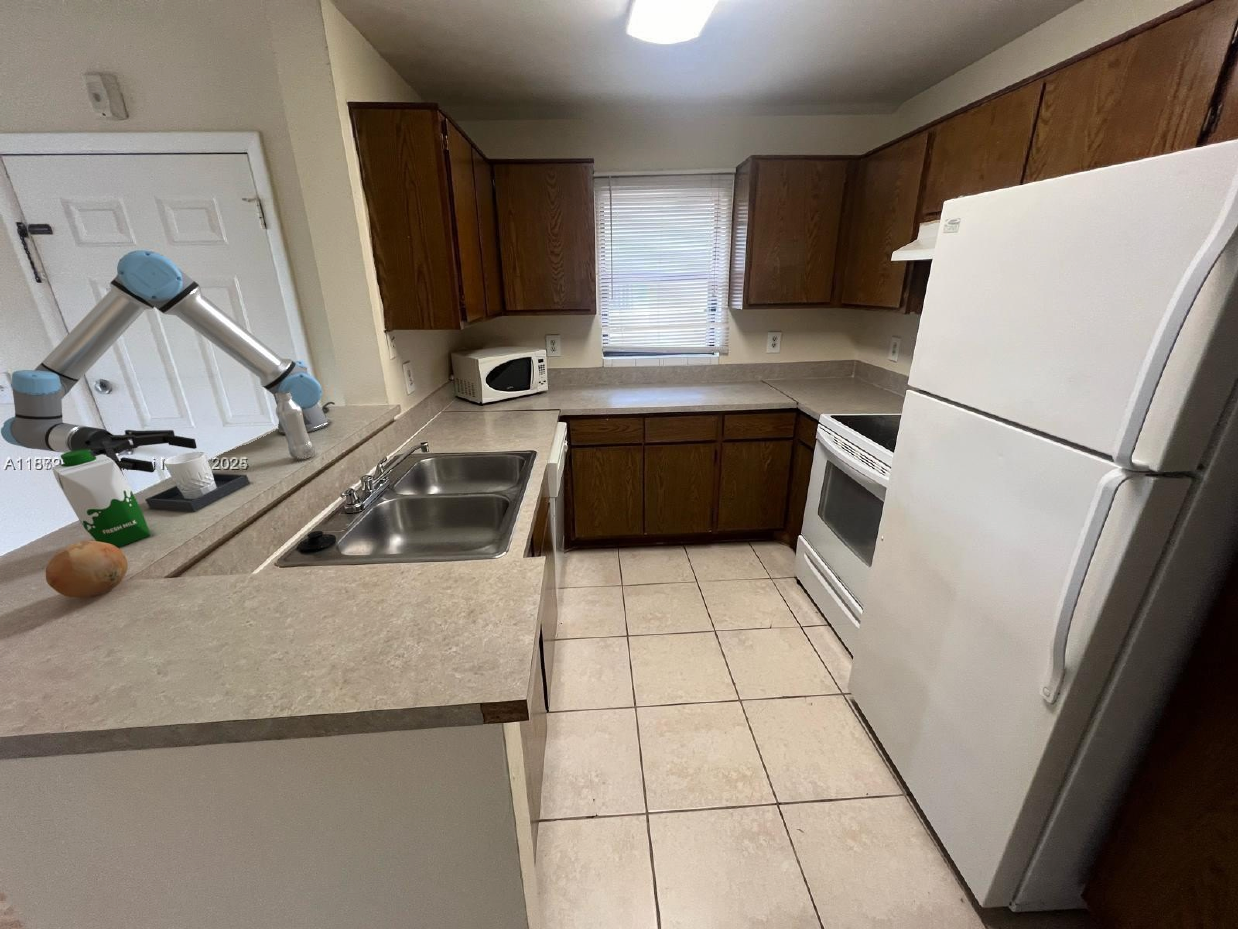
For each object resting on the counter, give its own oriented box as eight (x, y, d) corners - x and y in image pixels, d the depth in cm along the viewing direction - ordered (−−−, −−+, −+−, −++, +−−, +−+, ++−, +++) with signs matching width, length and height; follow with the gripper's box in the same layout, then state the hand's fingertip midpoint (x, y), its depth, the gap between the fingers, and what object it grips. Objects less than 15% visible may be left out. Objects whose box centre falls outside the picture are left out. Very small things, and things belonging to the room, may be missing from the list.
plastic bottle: (294, 464, 137) (270, 397, 129) (290, 457, 142) (267, 393, 134) (319, 457, 141) (298, 392, 133) (314, 451, 146) (293, 388, 138)
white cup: (203, 500, 117) (186, 463, 112) (172, 501, 117) (154, 464, 113) (227, 486, 124) (213, 451, 120) (198, 486, 124) (183, 451, 120)
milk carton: (143, 524, 108) (101, 443, 100) (158, 535, 103) (114, 451, 95) (90, 543, 101) (40, 458, 93) (103, 555, 97) (51, 467, 88)
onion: (98, 576, 90) (71, 531, 86) (152, 572, 91) (127, 528, 86) (45, 611, 81) (12, 563, 77) (104, 607, 82) (75, 559, 78)
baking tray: (209, 481, 128) (205, 472, 127) (250, 483, 126) (246, 474, 125) (149, 508, 115) (144, 499, 114) (194, 511, 113) (190, 502, 112)
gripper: (131, 434, 132) (212, 447, 135) (36, 477, 110) (135, 491, 113) (124, 409, 129) (207, 423, 131) (24, 449, 107) (127, 464, 109)
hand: (174, 455), depth 122 cm, fingers open, 13 cm apart
